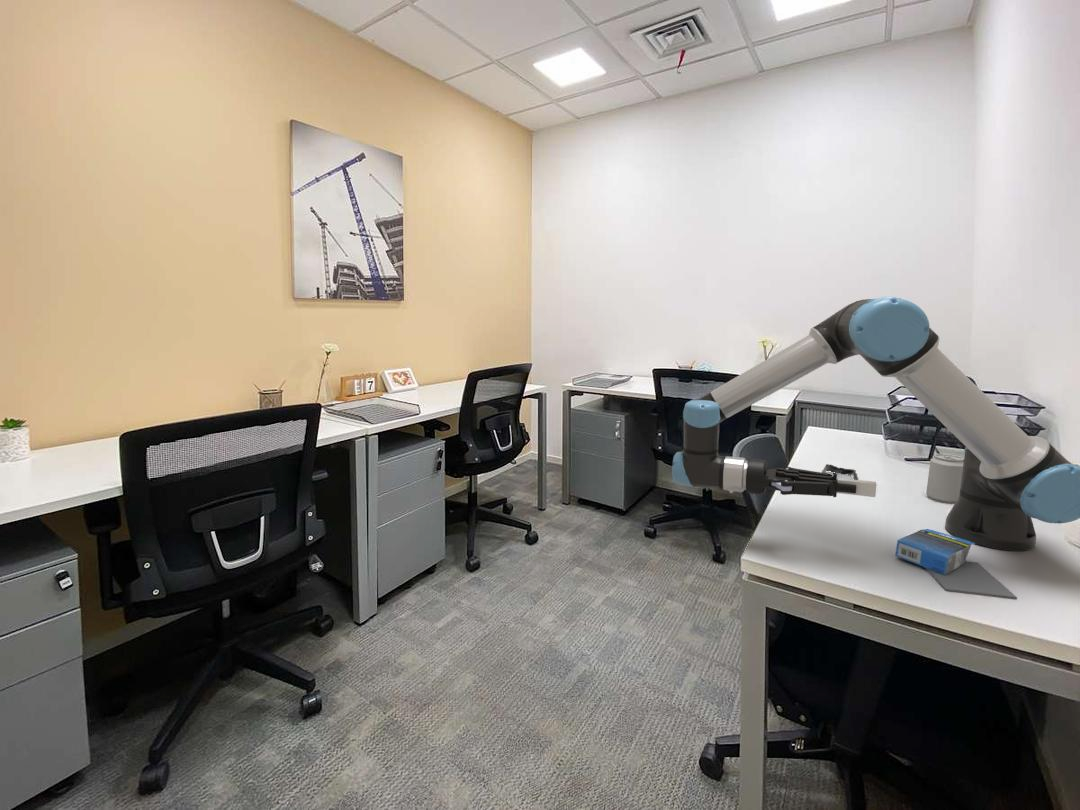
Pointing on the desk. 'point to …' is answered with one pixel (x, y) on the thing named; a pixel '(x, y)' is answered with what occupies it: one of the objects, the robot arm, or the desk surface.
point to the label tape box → (933, 550)
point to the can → (945, 478)
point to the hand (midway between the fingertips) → (875, 489)
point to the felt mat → (972, 581)
